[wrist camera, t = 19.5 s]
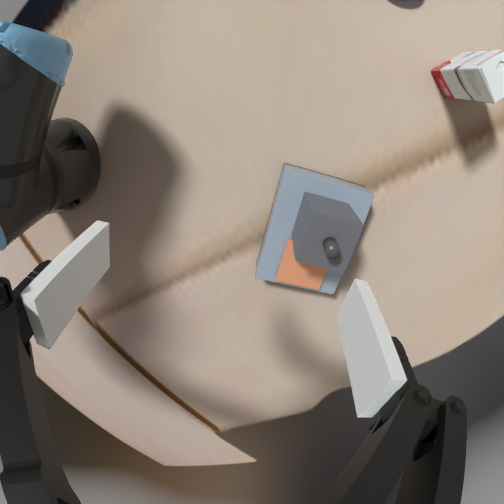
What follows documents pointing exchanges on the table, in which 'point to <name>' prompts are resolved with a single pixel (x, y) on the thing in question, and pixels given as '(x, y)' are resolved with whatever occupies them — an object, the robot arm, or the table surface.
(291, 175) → the socket
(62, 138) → the robot arm
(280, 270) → the shutter
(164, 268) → the table surface
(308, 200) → the plug
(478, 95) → the ink box
